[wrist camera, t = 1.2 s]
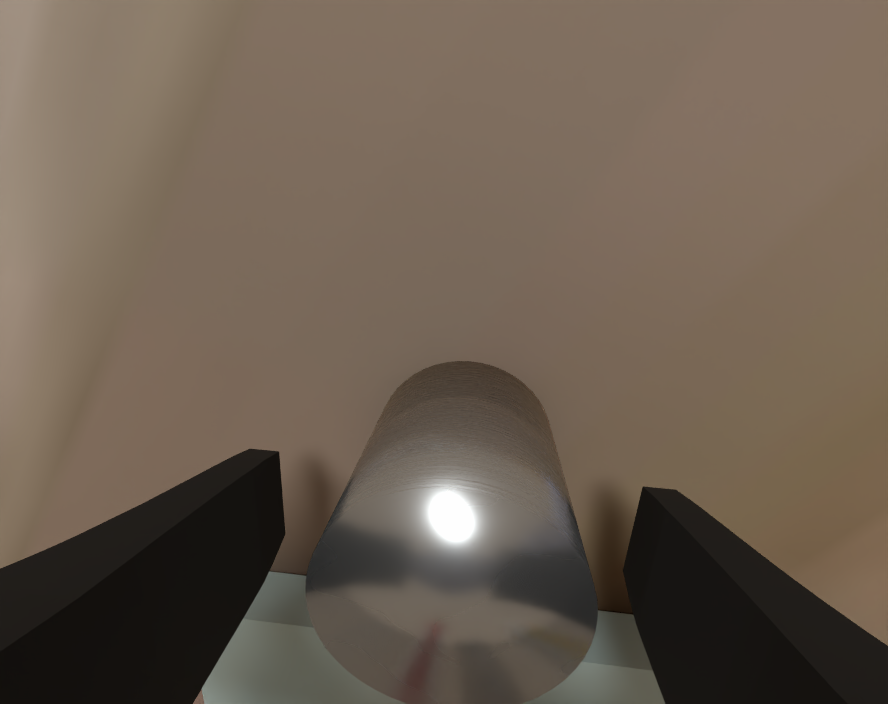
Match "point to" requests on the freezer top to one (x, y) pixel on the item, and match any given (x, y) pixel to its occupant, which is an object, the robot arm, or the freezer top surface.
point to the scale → (349, 700)
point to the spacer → (456, 549)
